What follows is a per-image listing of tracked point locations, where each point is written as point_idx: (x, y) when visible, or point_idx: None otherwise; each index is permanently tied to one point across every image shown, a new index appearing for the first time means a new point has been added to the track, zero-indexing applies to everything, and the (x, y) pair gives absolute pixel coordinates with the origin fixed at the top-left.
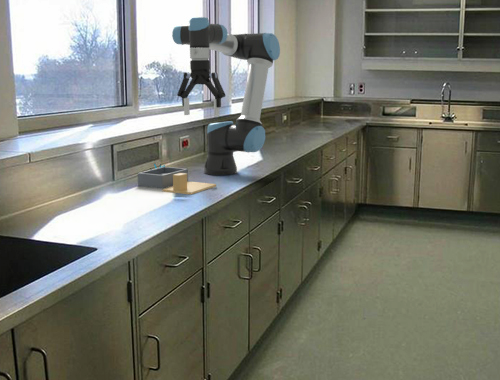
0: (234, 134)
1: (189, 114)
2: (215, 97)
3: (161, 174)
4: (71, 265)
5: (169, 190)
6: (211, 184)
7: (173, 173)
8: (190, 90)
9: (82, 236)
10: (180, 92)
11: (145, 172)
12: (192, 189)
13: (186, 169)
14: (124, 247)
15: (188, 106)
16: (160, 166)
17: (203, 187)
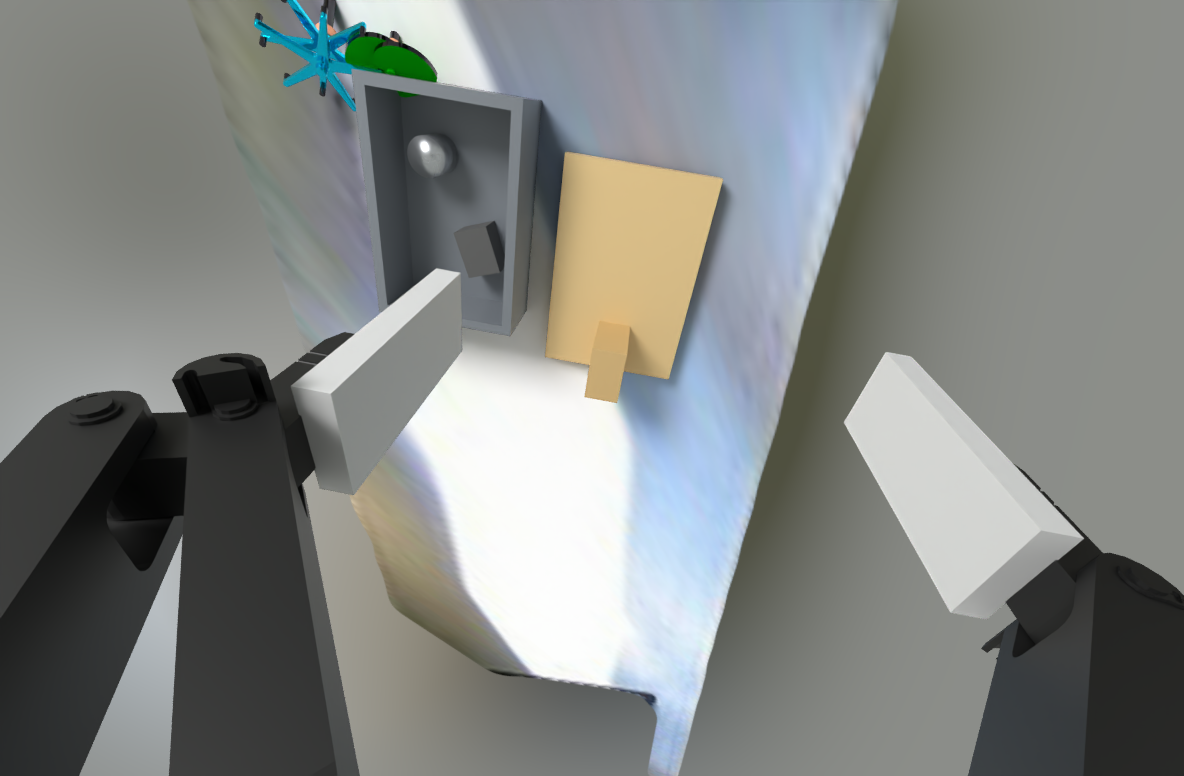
0: None
1: (459, 274)
2: (1007, 648)
3: (413, 168)
4: (657, 730)
5: (575, 362)
6: (701, 196)
7: (515, 252)
8: (314, 591)
9: (597, 663)
10: (155, 562)
11: (385, 267)
12: (654, 329)
13: (522, 116)
14: (689, 690)
15: (414, 338)
16: (294, 5)
17: (685, 278)
